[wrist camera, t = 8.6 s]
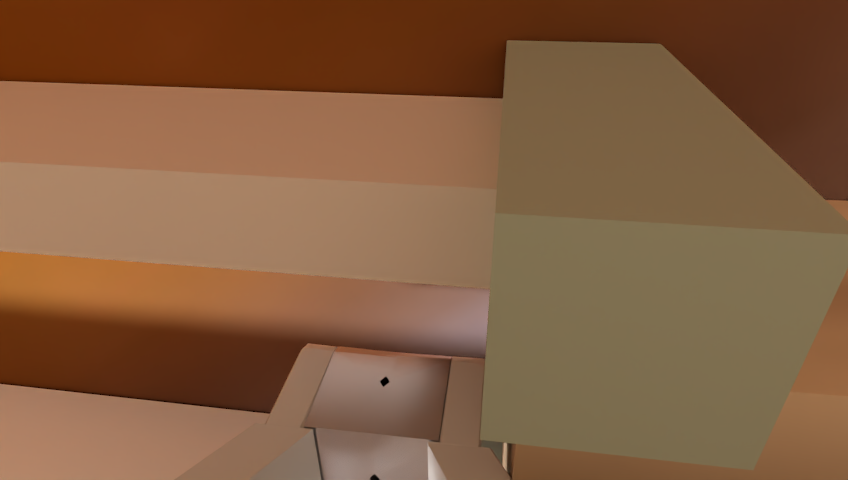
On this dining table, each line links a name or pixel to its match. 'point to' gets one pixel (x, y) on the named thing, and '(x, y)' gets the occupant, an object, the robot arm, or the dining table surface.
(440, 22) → the dining table surface
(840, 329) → the maple block
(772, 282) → the green-tipped fork clamp
